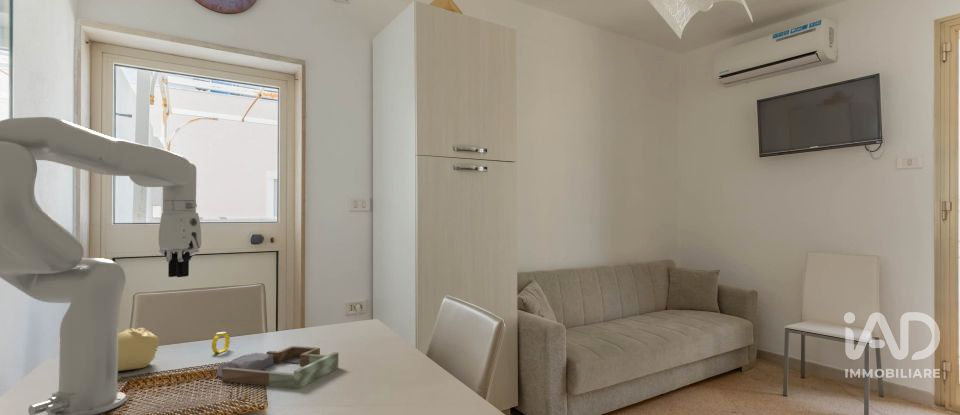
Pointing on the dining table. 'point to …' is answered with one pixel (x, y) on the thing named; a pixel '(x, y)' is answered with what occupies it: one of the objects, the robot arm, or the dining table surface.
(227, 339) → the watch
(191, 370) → the dining table surface
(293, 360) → the trap pit pad
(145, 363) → the sculpture
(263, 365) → the stone block
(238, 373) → the channel
